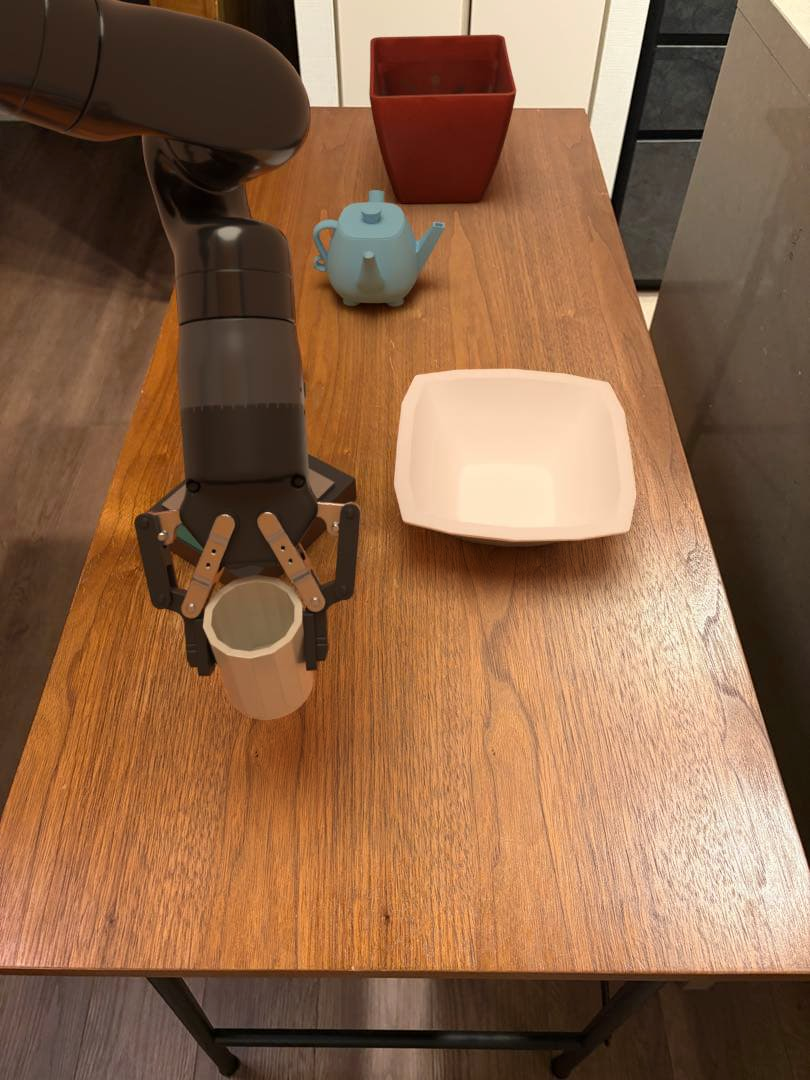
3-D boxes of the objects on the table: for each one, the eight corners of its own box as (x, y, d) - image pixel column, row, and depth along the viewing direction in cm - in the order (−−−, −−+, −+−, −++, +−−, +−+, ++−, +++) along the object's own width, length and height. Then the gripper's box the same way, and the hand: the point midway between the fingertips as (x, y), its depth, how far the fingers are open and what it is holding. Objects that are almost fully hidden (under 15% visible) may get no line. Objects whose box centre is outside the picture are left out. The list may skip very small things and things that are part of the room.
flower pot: (373, 216, 121) (368, 94, 108) (374, 152, 134) (370, 35, 120) (506, 215, 122) (517, 93, 108) (495, 150, 134) (504, 34, 121)
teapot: (454, 293, 109) (457, 212, 101) (371, 336, 104) (367, 254, 95) (380, 244, 117) (377, 164, 108) (299, 282, 111) (289, 201, 103)
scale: (253, 602, 79) (248, 582, 76) (147, 536, 84) (139, 514, 81) (357, 498, 87) (355, 476, 85) (255, 443, 92) (250, 421, 90)
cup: (275, 737, 55) (257, 675, 49) (206, 688, 57) (182, 624, 51) (332, 671, 58) (323, 606, 52) (265, 628, 60) (249, 560, 54)
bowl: (604, 431, 93) (619, 371, 87) (625, 602, 79) (645, 545, 72) (405, 423, 94) (404, 363, 88) (389, 590, 80) (388, 533, 73)
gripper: (104, 404, 48) (128, 694, 49) (359, 393, 48) (374, 680, 50) (140, 410, 55) (160, 662, 57) (361, 400, 56) (374, 650, 57)
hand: (260, 669), depth 53 cm, fingers closed on cup, 6 cm apart
